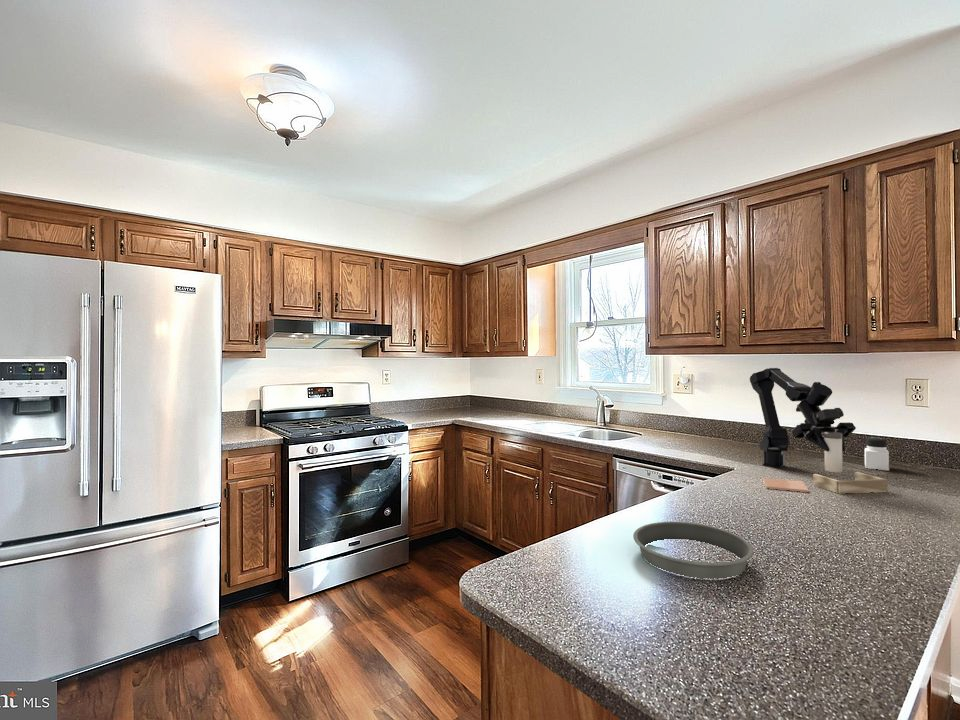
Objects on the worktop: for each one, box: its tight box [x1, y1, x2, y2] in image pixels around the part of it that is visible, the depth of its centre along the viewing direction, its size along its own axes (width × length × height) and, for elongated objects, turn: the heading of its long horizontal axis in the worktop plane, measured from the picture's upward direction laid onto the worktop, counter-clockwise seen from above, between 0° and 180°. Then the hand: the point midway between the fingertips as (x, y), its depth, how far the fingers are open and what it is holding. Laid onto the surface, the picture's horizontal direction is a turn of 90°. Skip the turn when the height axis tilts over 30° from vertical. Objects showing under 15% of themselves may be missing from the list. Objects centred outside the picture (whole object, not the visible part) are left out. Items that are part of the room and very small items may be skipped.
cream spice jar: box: [823, 431, 843, 473], centre depth 158 cm, size 5×5×13 cm
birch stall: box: [812, 471, 889, 495], centre depth 157 cm, size 11×17×4 cm, turn 96°
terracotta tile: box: [762, 477, 810, 493], centre depth 162 cm, size 12×12×1 cm
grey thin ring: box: [632, 521, 754, 579], centre depth 105 cm, size 25×25×4 cm
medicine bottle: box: [864, 436, 891, 472], centre depth 185 cm, size 7×7×12 cm
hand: (836, 450), depth 157 cm, fingers closed on cream spice jar, 5 cm apart
